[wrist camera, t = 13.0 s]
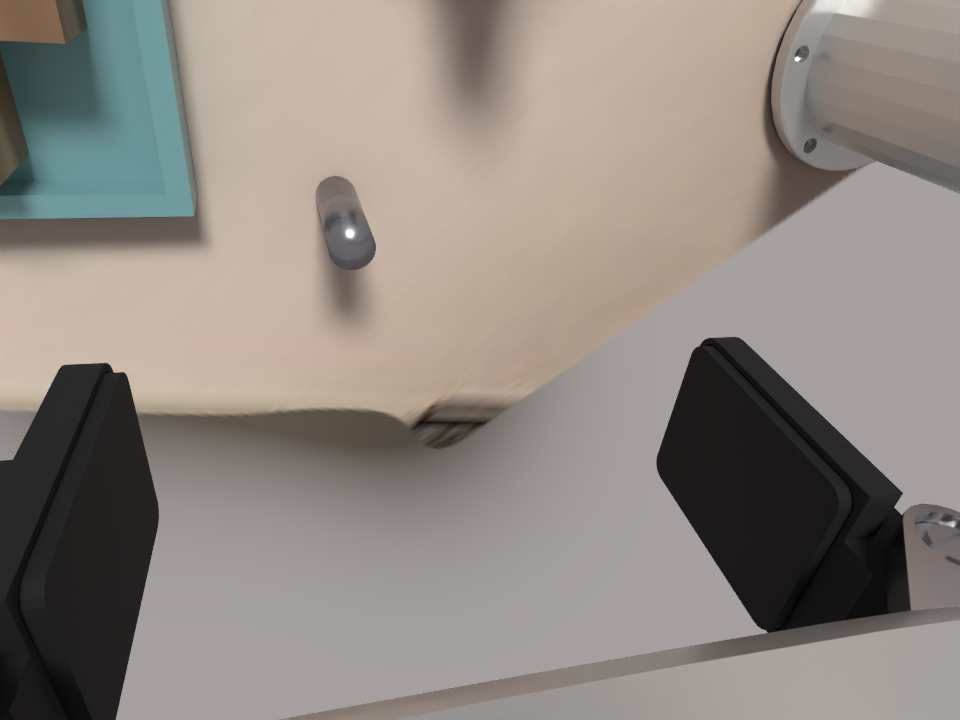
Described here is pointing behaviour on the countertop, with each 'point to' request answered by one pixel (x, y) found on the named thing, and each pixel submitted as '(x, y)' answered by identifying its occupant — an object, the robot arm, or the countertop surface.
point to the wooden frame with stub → (30, 18)
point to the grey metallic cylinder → (344, 224)
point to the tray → (101, 120)
